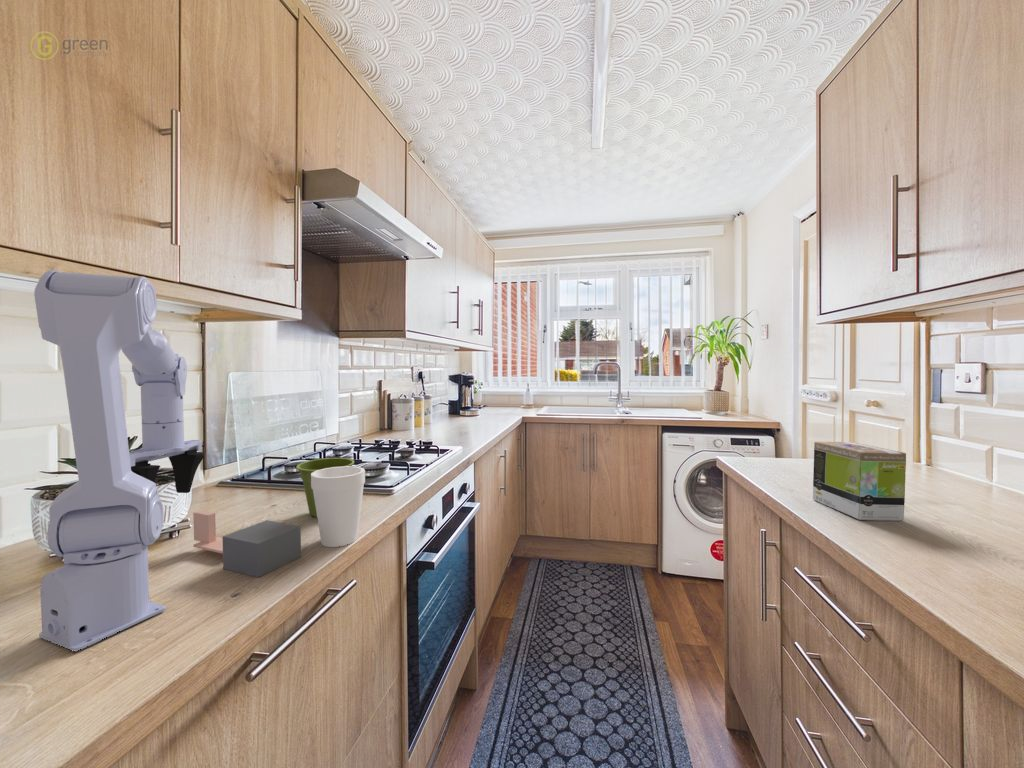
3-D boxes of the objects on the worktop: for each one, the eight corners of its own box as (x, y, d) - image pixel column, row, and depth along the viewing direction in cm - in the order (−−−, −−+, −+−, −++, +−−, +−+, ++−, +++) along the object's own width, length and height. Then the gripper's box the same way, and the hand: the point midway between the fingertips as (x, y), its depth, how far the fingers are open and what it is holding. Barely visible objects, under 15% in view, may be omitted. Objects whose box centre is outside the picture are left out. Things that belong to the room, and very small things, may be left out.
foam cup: (306, 552, 76) (305, 479, 75) (317, 533, 85) (316, 467, 84) (363, 547, 78) (362, 476, 78) (368, 529, 87) (367, 465, 87)
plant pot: (292, 511, 98) (291, 462, 97) (346, 501, 105) (345, 455, 105) (304, 526, 88) (303, 472, 88) (362, 514, 96) (361, 464, 95)
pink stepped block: (226, 554, 72) (226, 522, 72) (185, 545, 76) (184, 514, 76) (249, 545, 76) (248, 515, 76) (208, 536, 80) (208, 508, 80)
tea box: (906, 521, 91) (908, 452, 91) (858, 521, 92) (860, 452, 91) (852, 500, 106) (853, 440, 106) (810, 499, 107) (812, 440, 106)
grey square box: (258, 577, 67) (257, 543, 67) (223, 568, 70) (222, 536, 70) (301, 556, 74) (300, 526, 74) (267, 549, 77) (266, 520, 77)
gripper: (145, 427, 68) (148, 512, 69) (216, 417, 83) (217, 487, 83) (104, 427, 69) (107, 511, 69) (181, 417, 83) (183, 486, 84)
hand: (165, 498), depth 76 cm, fingers open, 7 cm apart
